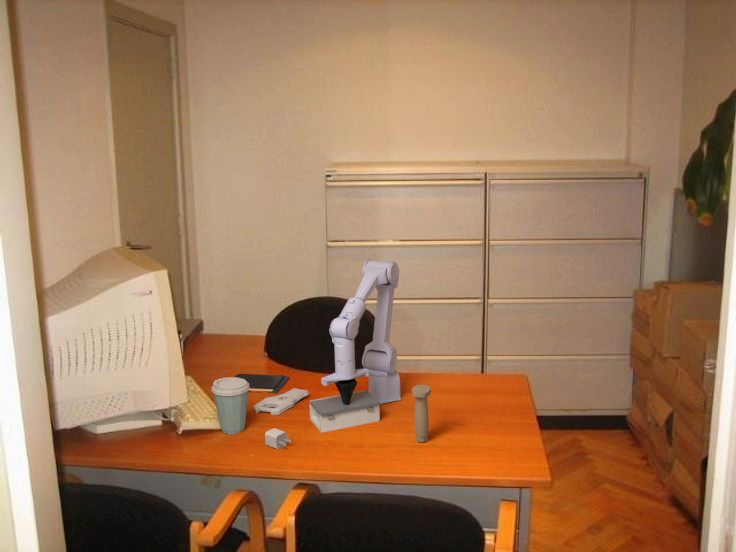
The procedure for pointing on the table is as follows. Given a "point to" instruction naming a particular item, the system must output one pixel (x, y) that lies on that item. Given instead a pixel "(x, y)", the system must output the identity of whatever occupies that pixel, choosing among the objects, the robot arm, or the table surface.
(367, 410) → the open hinged case
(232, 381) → the disposable coffee cup
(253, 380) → the black notebook
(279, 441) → the usb wall charger
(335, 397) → the cover
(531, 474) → the table surface
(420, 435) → the handle
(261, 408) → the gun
